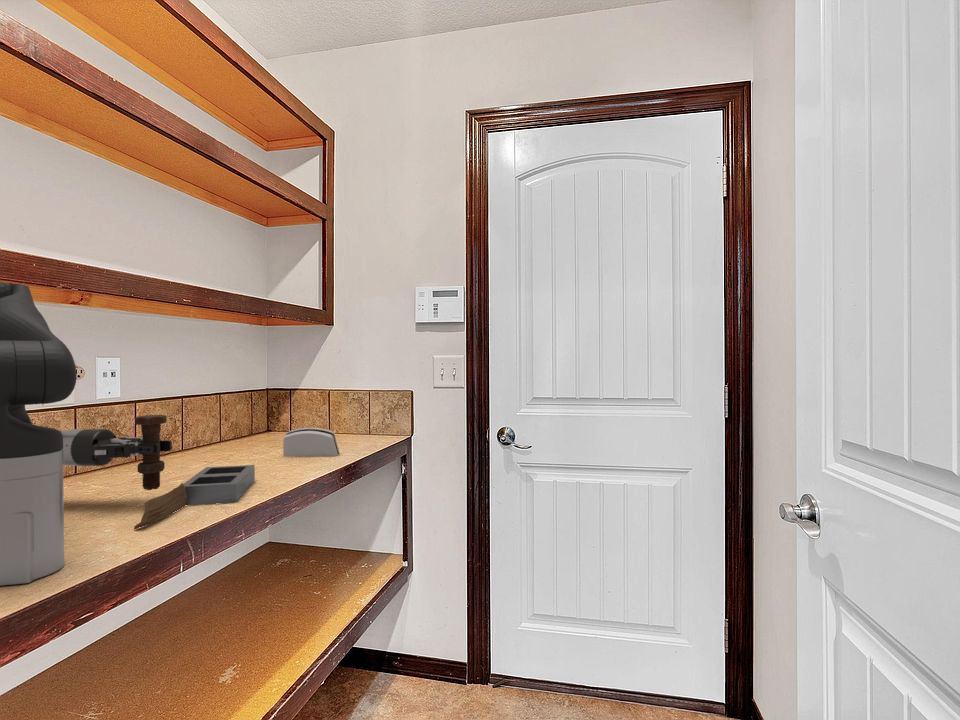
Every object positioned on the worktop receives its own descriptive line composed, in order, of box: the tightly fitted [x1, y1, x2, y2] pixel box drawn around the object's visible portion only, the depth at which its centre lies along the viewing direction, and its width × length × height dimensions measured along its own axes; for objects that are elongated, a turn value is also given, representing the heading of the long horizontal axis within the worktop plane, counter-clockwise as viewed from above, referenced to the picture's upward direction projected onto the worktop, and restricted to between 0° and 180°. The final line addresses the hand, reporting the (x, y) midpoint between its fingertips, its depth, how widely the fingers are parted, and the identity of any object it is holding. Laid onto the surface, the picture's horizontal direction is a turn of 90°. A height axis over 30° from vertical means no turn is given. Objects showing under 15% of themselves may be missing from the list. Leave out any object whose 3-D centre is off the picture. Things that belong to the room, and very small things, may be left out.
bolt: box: [134, 414, 167, 491], centre depth 108 cm, size 6×5×15 cm
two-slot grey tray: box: [183, 464, 256, 506], centre depth 120 cm, size 20×11×4 cm, turn 13°
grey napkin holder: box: [282, 427, 340, 457], centre depth 164 cm, size 17×5×10 cm, turn 92°
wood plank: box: [133, 482, 187, 531], centre depth 101 cm, size 15×2×5 cm, turn 4°
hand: (164, 447), depth 108 cm, fingers closed on bolt, 3 cm apart
